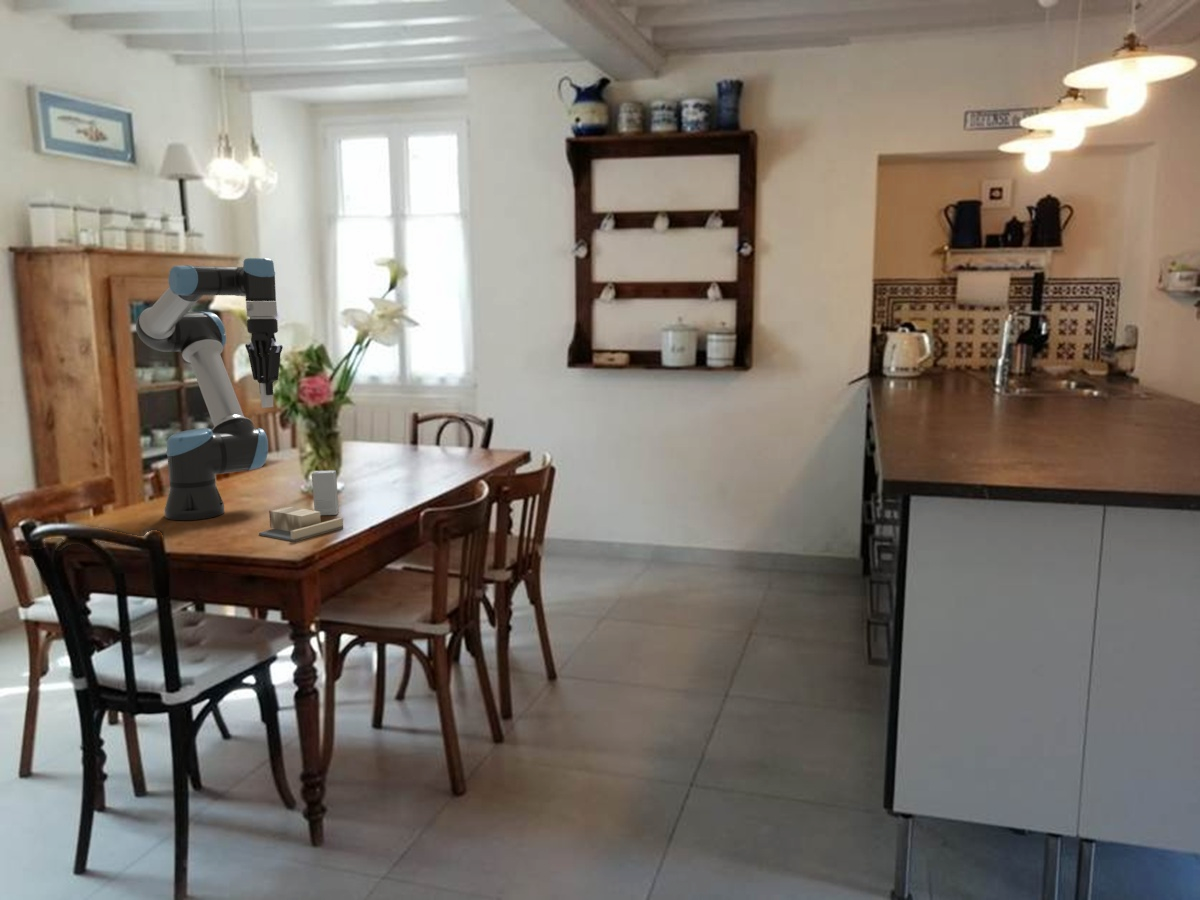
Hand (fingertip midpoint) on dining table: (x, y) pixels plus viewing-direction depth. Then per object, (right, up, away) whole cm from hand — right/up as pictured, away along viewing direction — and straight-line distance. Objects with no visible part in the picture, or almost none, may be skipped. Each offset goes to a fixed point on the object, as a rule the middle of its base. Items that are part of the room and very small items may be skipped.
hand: (267, 407), depth 243 cm
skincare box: (+13, -30, +10) cm, 34 cm away
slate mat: (+12, -32, -9) cm, 36 cm away
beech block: (+5, -29, -5) cm, 30 cm away
